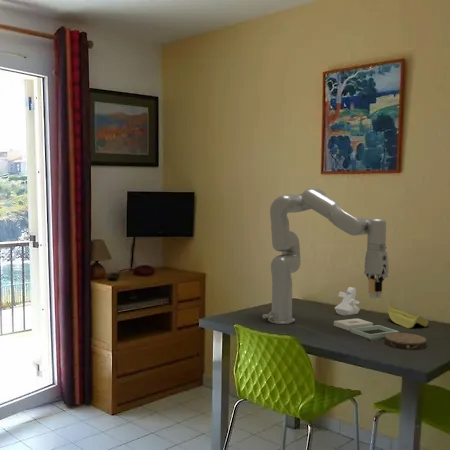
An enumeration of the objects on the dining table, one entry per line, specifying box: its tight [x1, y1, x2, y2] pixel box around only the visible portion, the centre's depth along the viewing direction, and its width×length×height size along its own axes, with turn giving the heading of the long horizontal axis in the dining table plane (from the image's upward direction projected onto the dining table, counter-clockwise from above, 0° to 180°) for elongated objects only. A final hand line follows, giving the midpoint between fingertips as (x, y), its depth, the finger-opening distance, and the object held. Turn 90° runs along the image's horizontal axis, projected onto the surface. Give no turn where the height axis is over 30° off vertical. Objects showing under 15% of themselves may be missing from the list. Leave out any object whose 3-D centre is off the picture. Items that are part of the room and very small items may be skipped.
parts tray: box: [349, 324, 400, 342], centre depth 227 cm, size 16×12×2 cm
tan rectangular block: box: [367, 277, 384, 299], centre depth 226 cm, size 5×3×8 cm, turn 117°
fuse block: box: [333, 317, 374, 331], centre depth 239 cm, size 14×10×3 cm
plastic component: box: [387, 304, 430, 329], centre depth 251 cm, size 20×7×10 cm
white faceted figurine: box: [334, 286, 361, 316], centre depth 267 cm, size 8×14×14 cm, turn 36°
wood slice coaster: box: [384, 332, 427, 351], centre depth 214 cm, size 16×16×3 cm
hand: (375, 290), depth 226 cm, fingers closed on tan rectangular block, 3 cm apart
